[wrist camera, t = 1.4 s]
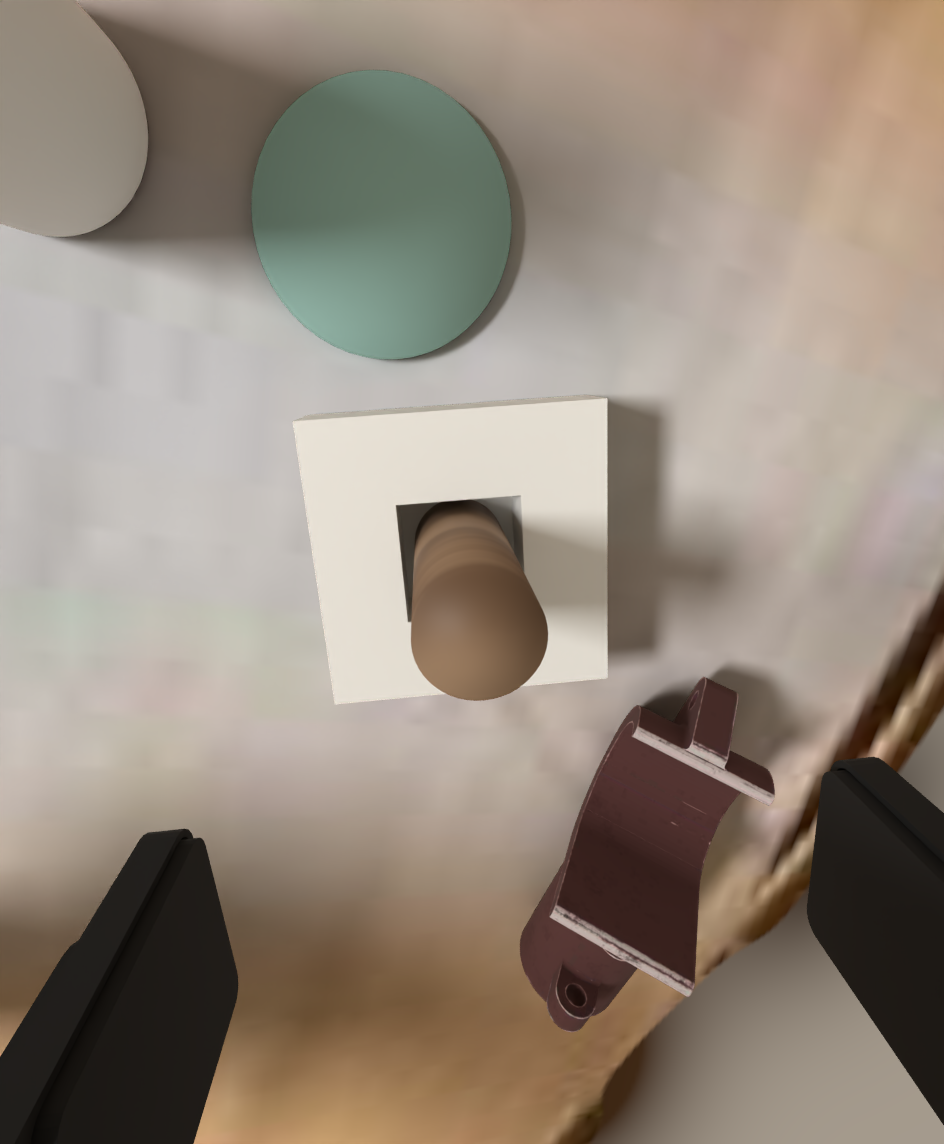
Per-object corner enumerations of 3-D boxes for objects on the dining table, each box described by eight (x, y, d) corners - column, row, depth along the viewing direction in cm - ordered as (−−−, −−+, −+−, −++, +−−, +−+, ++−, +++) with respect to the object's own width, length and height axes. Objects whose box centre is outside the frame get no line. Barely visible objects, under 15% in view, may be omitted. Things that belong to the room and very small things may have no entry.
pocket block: (587, 645, 32) (607, 678, 28) (344, 668, 31) (335, 704, 28) (585, 394, 28) (607, 398, 25) (308, 415, 27) (292, 421, 24)
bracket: (784, 705, 30) (806, 862, 22) (633, 914, 38) (605, 1092, 29) (662, 647, 31) (637, 775, 23) (540, 862, 39) (487, 1018, 31)
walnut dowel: (504, 579, 30) (550, 694, 19) (418, 586, 29) (417, 706, 19) (500, 494, 28) (546, 567, 18) (410, 501, 28) (404, 579, 18)
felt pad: (515, 351, 27) (517, 350, 27) (277, 367, 27) (274, 367, 26) (503, 71, 24) (505, 63, 23) (233, 83, 24) (229, 76, 23)
